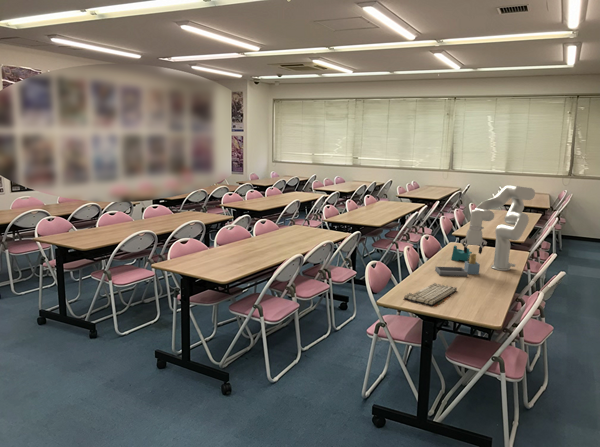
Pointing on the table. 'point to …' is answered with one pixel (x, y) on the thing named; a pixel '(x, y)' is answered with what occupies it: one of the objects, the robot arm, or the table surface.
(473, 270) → the blue box
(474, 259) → the dowel
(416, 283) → the table surface
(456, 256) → the teal notched holder
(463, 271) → the tray
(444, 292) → the mechanical keyboard
